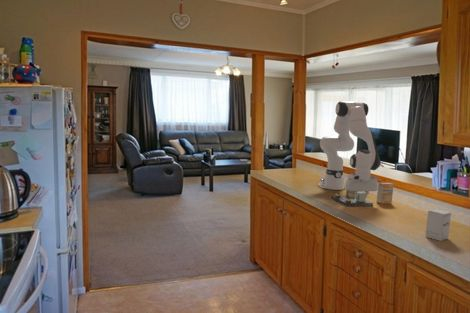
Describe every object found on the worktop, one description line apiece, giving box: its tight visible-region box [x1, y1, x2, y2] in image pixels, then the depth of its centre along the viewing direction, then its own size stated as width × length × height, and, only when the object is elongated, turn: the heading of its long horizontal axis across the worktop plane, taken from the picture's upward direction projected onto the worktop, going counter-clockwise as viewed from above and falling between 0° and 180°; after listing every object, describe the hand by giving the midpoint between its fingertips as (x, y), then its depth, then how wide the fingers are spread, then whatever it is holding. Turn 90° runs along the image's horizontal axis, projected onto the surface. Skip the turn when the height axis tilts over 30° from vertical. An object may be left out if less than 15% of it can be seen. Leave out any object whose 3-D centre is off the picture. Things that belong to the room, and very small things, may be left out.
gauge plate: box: [330, 192, 374, 207], centre depth 247 cm, size 20×18×4 cm
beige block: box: [345, 190, 355, 198], centre depth 254 cm, size 4×4×5 cm
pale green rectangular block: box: [356, 191, 367, 202], centre depth 242 cm, size 4×4×5 cm
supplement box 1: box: [376, 182, 395, 205], centre depth 249 cm, size 8×5×13 cm, turn 105°
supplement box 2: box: [425, 208, 452, 242], centre depth 180 cm, size 7×7×13 cm
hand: (360, 198), depth 242 cm, fingers closed on pale green rectangular block, 4 cm apart
